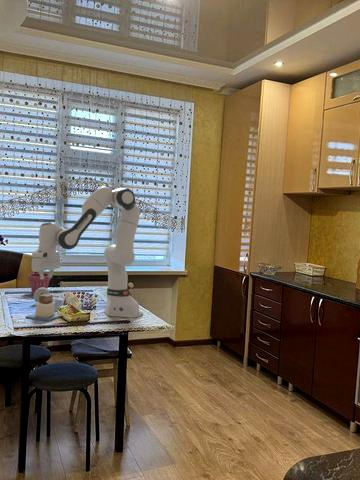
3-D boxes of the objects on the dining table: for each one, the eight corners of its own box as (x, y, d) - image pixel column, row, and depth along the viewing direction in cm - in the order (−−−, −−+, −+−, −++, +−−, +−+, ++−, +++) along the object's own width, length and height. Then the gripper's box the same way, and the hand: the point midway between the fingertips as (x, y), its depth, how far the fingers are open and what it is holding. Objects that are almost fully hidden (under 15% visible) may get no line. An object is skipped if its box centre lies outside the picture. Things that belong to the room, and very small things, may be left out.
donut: (48, 302, 274) (49, 286, 273) (50, 303, 271) (51, 287, 270) (32, 303, 268) (32, 287, 267) (34, 305, 265) (34, 288, 264)
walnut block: (52, 303, 241) (52, 294, 240) (46, 305, 236) (46, 296, 236) (44, 302, 243) (45, 293, 242) (38, 304, 238) (39, 295, 237)
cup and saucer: (63, 316, 244) (64, 301, 243) (47, 321, 231) (48, 306, 230) (42, 312, 249) (43, 298, 248) (25, 318, 236) (26, 303, 235)
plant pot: (24, 294, 292) (24, 275, 291) (33, 290, 306) (34, 272, 305) (44, 296, 290) (45, 277, 289) (53, 292, 304) (54, 273, 303)
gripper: (54, 250, 248) (53, 275, 249) (29, 253, 229) (28, 280, 230) (63, 251, 246) (62, 276, 247) (39, 254, 227) (38, 281, 228)
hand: (46, 278), depth 238 cm, fingers open, 5 cm apart
